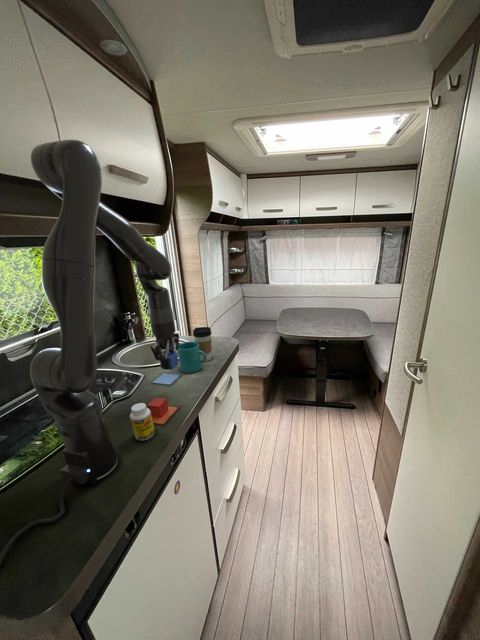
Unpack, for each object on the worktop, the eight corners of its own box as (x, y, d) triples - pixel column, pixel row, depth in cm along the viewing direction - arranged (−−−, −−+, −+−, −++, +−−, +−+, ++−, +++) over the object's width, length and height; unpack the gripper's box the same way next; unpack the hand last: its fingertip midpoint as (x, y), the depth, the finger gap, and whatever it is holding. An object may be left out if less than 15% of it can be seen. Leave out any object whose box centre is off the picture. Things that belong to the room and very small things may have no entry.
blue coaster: (170, 385, 110) (169, 384, 110) (152, 383, 112) (152, 382, 112) (180, 375, 117) (180, 374, 117) (163, 374, 119) (163, 373, 119)
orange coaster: (163, 424, 87) (163, 423, 87) (138, 420, 90) (138, 419, 89) (178, 408, 95) (177, 407, 95) (155, 405, 97) (155, 404, 97)
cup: (205, 373, 118) (202, 349, 114) (177, 373, 119) (173, 349, 115) (210, 364, 126) (207, 341, 122) (184, 364, 127) (181, 341, 123)
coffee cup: (212, 362, 128) (209, 331, 123) (194, 362, 129) (190, 332, 123) (215, 354, 136) (212, 325, 130) (198, 355, 136) (194, 326, 130)
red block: (161, 418, 90) (158, 406, 88) (149, 416, 91) (146, 405, 89) (168, 410, 94) (166, 399, 92) (157, 408, 95) (155, 397, 93)
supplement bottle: (137, 444, 80) (129, 414, 75) (133, 433, 84) (126, 405, 80) (157, 436, 82) (150, 407, 78) (152, 426, 87) (146, 399, 83)
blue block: (172, 369, 96) (170, 358, 94) (161, 368, 97) (159, 357, 96) (178, 364, 100) (177, 353, 98) (168, 363, 101) (166, 352, 99)
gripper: (164, 313, 99) (171, 357, 106) (138, 325, 87) (148, 374, 93) (183, 314, 97) (189, 358, 104) (159, 326, 85) (168, 376, 91)
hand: (170, 365), depth 98 cm, fingers closed on blue block, 4 cm apart
